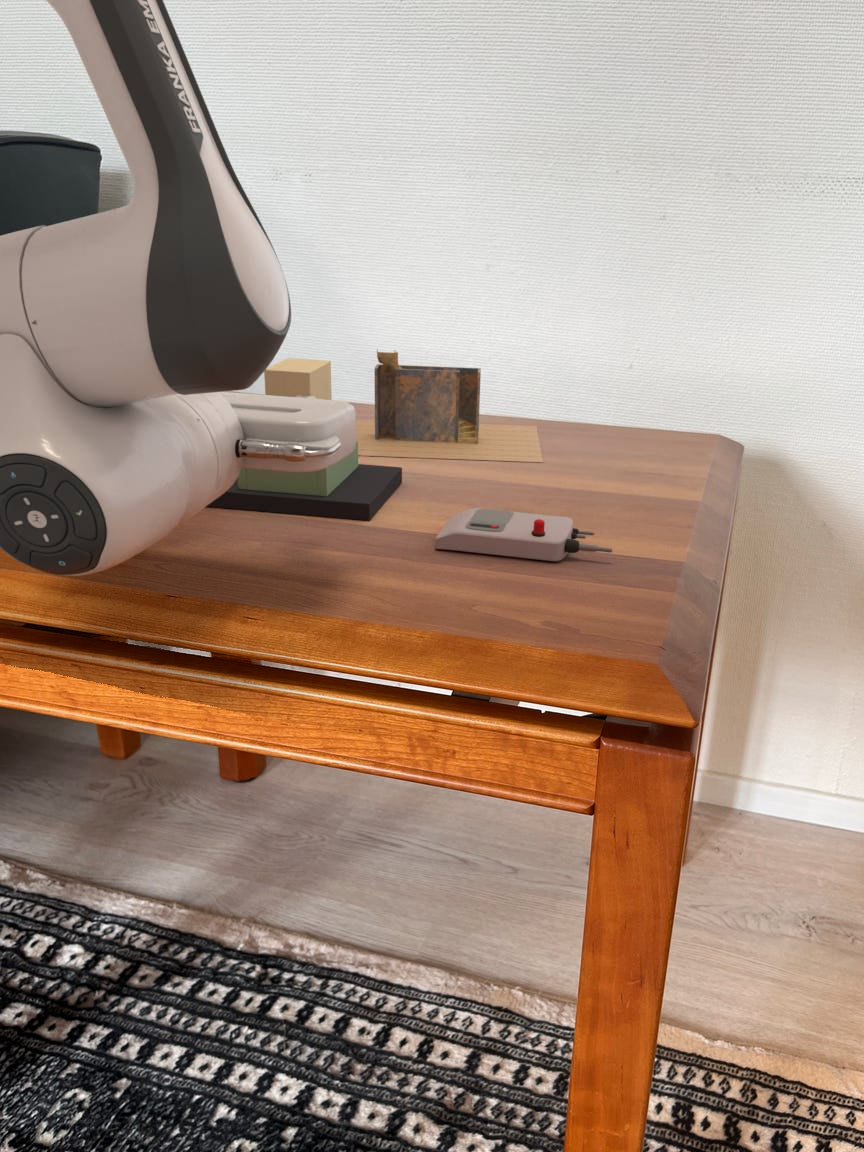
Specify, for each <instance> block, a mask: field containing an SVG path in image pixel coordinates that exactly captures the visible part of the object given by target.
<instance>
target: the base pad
mask: <svg viewBox="0 0 864 1152" xmlns="http://www.w3.org/2000/svg"><path fill="white" fill-rule="evenodd" d="M402 483H403V467H401V466H389V465H388V466H387V465H377V464H375V465H374V464H363V463H359V455H358V441H356V447H355V450H354V452H353V453H352V454H350V455H349V456H347V457H346V458H344V459H343V460H341V461H339V462H337V463H335V464H333V465H331V466H329V467H327V468H325V469H322V470H318V471H312V472H288V471H276V470H264V469H252V468H242V469H241V471H240V474H239V476H238V477H237V479H236V481H235V482H234V484H233V485H232V486H231V487H230V488H229V489H228V490H227V491H226V492H225V493H224V494H222V495H221V496H220V497H218V498H217V499H215V500H214V501H213V502H211V503H210V504H208V505H207V506H206V507H211V508H222V509H234V510H245V511H256V512H268V513H279V514H291V515H303V516H313V517H324V518H325V517H326V518H334V519H335V518H337V519H347V520H357V521H359V520H360V521H370V520H371V519H372V518H373V517H374V516H375V515H376V514H377V513H378V511H379V510H380V509H381V507H382V506H383V505H384V504H385V503H386V501H388V499H389V498H390V497H391V496H392V495H393V494H394V492H395V491H396V490H397V489H398V488H399V486H400V485H401V484H402Z"/></svg>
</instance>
